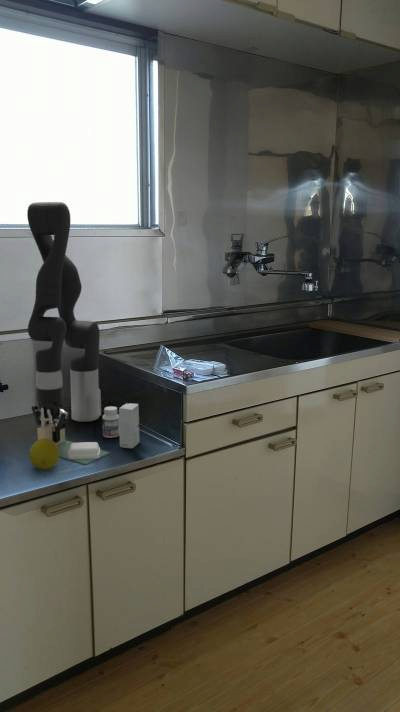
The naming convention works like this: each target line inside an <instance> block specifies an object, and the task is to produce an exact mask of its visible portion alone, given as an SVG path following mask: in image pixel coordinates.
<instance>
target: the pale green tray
mask: <svg viewBox="0 0 400 712" xmlns="http://www.w3.org/2000/svg"><path fill="white" fill-rule="evenodd" d="M56 426H57V424H56ZM36 431H37V434H36V435H37V441H38V440H40V439H43V438H47V439H50V440H52V441H53V439H52V431H53V430H52V425H51V424H48V425H45V426H42V427H41V426H40V427H37V428H36ZM72 443H75V442H74V441H69V440H66V427H65V428H64V429H62V430H60V441H59V442H57V443H56V445H57V446H58V448H59V452H60V453H59V459H65V460H68V461H71V462H74V463H78V464H81V465H85V466H86V465H89V464H92V463H94V462H96V461H97V460H99V459H102V458H105V457H106V456H108V455H110V451H106V450H102V449H100V457H99V458H93V459H69V458H68V451H69V449H70V446H71V444H72Z"/></svg>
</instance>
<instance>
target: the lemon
mask: <svg viewBox="0 0 400 712" xmlns="http://www.w3.org/2000/svg"><path fill="white" fill-rule="evenodd" d="M59 453H60V452H59V448H58V446H57V445H56V443H55V442H54V441H52V440H50V439H47V438H43V439H40V440H38V439H37V440H36V441H35V442H34V443H33V444H32V445H31V448H30V451H29V461H30V462H31V464H32V465H33V466H34V467H35V468H37V469H39V470H42V471H47V470H48V471H49V470H51V469H53V468H54V467H55V466H56V465H57V464H58V462H59V460H60V457H59Z"/></svg>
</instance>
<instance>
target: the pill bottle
mask: <svg viewBox="0 0 400 712" xmlns="http://www.w3.org/2000/svg"><path fill="white" fill-rule="evenodd" d="M103 411H104V414H103V415H102V417H101V418H102V436H103V437H104V438H107V439H108V438H109V439H114V438H117V437H120V431H119V413H118V407H117V406H106V407H104V410H103Z"/></svg>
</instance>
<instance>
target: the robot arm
mask: <svg viewBox="0 0 400 712" xmlns="http://www.w3.org/2000/svg"><path fill="white" fill-rule="evenodd" d="M26 216H27V223H28V227H29V230H30V231H31V235H32V237H33V240H34V241H35V244H36V247H37V249H38V251H39V253H40V256H41V259H42V262H43V264H42V265H41V267H40V268H39V270H38V273H37V276H36V281H35V300H34V305H33V309H32V312H31V316H30V317H29V322H28V325H27V335H28V336H29V339H31V340H32V341H35V342H50V343H52V344H51V346H50V347H47V348H42V349H38V350H37V351H36V353H35V369H36V370H35V371H36V372H35V391H36V401H37V402H38V403H37V404H34V405H33V406H31V412H32V413H33V417H34V419H35V423H36V425H37V426H40V427H42V426H45V425H48V424H51V425H52V430H53V431H52V439H53V441H54V442H55V443H57V442H59V441H60V430H62V429H64V428H65V429H66V427H67V425H68V422H69V421H68V420H69V418H70V416H71V420H73V421H76V422H79V423H81V422H83V423H84V422H85V423H86V422H93V421H96V420H98V419H100V416H102V399H101V398H102V396H101V395H102V394H101V392H102V391H101V389H100V387H99V386H100V385H99V360H100V338H101V337H100V336H101V335H100V328H99V325H98V323H97V322H95V321H92V320H91V321H90V320H77V319H76V317H75V312H74V310H75V307H76V304H77V301H78V300H79V298H80V295H81V292H82V282H81V278H80V275H79V271H78V268H77V267H76V265H75V264H74V262H73V261H72V260H71V259H70V257H68V256H67V255H66V254H67V248H68V243H69V236H70V231H71V213H70V209H69V207H68V205H67V204H66V203H65V202H62V201H39V202H38V201H37V202H32V203H30V204H29V205H28V207H27V215H26ZM52 236H53V237H52ZM53 309H57V313H58V316H44V315H45V314H46V312H48V310H53ZM64 342H65V344H66V346H68V348H70V349H83V350H84V354H83V355H82V356H78V357H75V358H73V359H71V360H70V362H69V372H70V373H69V374H70V377H69V378H70V401H71V403H70V405H71V406H70V407H71V409H70V410H71V413H70V411H65V410H64V407H63V405H62V401H63V399H64V387H63V386H64V385H63V373H62V351H63V347H64V346H63V345H64ZM56 424H57V426H56Z"/></svg>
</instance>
